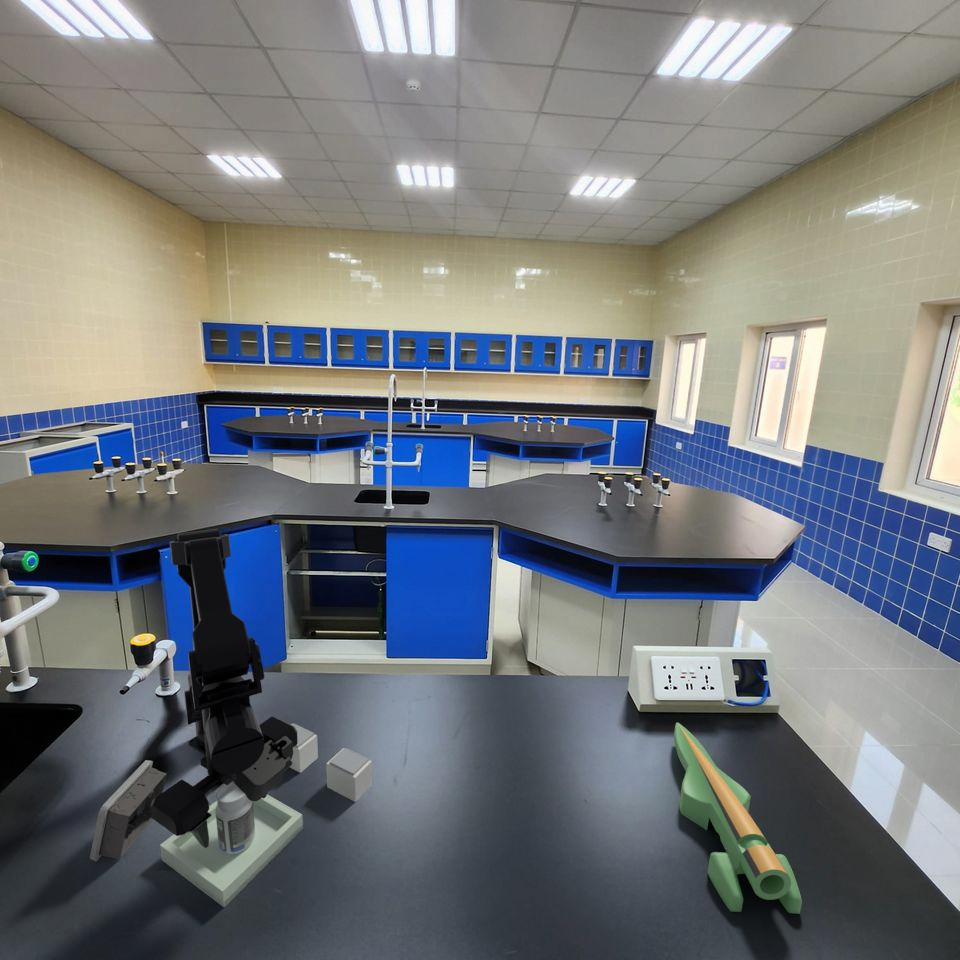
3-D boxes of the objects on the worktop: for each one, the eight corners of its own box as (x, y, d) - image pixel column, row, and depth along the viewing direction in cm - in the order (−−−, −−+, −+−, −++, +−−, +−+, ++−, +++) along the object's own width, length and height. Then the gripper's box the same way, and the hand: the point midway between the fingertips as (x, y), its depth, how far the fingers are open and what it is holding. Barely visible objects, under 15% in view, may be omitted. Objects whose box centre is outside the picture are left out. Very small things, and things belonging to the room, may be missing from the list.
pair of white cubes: (275, 759, 89) (273, 735, 88) (293, 745, 92) (292, 721, 91) (355, 802, 81) (355, 775, 80) (372, 784, 84) (371, 759, 83)
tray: (161, 860, 70) (160, 845, 70) (243, 793, 82) (242, 780, 81) (224, 907, 64) (222, 891, 64) (303, 828, 76) (302, 814, 75)
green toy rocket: (647, 739, 97) (651, 705, 96) (702, 741, 97) (707, 707, 96) (725, 914, 66) (733, 868, 64) (807, 916, 66) (816, 870, 64)
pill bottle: (260, 826, 75) (257, 777, 73) (247, 856, 70) (243, 804, 69) (228, 825, 75) (223, 776, 73) (212, 855, 70) (207, 804, 68)
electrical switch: (138, 806, 79) (137, 755, 77) (170, 812, 78) (170, 761, 76) (88, 864, 69) (85, 807, 67) (125, 870, 69) (123, 814, 67)
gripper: (200, 796, 57) (211, 908, 60) (323, 704, 73) (326, 796, 76) (142, 759, 62) (154, 864, 65) (269, 680, 78) (274, 767, 81)
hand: (235, 820), depth 72 cm, fingers open, 9 cm apart
